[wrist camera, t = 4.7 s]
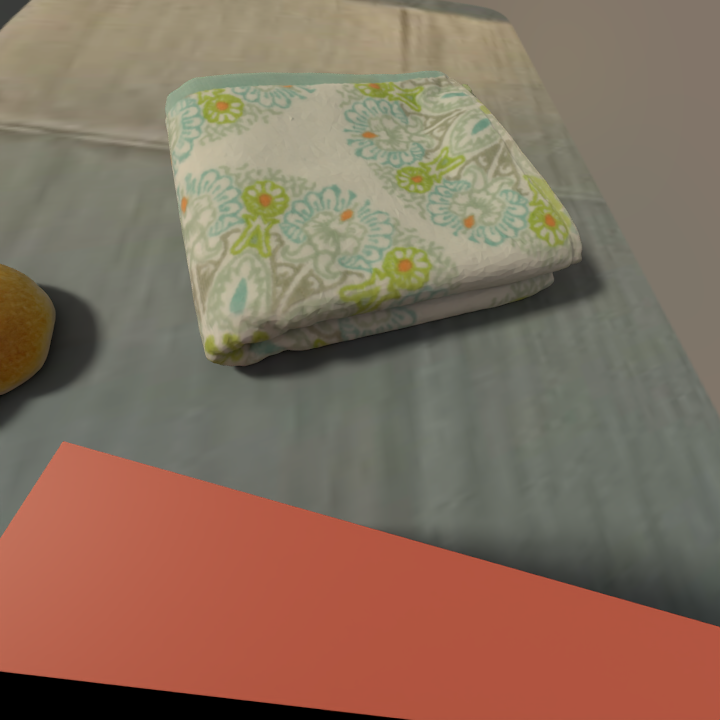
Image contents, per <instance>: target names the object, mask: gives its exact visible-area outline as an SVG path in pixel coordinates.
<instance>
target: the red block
mask: <svg viewBox="0 0 720 720" xmlns="http://www.w3.org/2000/svg"><path fill="white" fill-rule="evenodd" d="M0 720H720V627H718V626H715V625H711V624H708V623H704V622H701V621H697V620H693V619H690V618H686V617H683V616H679V615H676V614H672V613H669V612H665V611H662V610H658V609H655V608H651V607H647V606H644V605H640V604H637V603H633V602H630V601H626V600H623V599H619V598H616V597H612V596H609V595H605V594H601V593H598V592H594V591H591V590H587V589H584V588H580V587H577V586H573V585H570V584H566V583H563V582H559V581H556V580H552V579H548V578H545V577H541V576H538V575H534V574H531V573H527V572H524V571H520V570H517V569H513V568H510V567H506V566H502V565H499V564H495V563H492V562H488V561H485V560H481V559H478V558H474V557H471V556H467V555H464V554H460V553H456V552H453V551H449V550H446V549H442V548H439V547H435V546H432V545H428V544H425V543H421V542H418V541H414V540H410V539H407V538H403V537H400V536H396V535H393V534H389V533H386V532H382V531H379V530H375V529H372V528H368V527H364V526H361V525H357V524H354V523H350V522H347V521H343V520H340V519H336V518H333V517H329V516H326V515H322V514H318V513H315V512H311V511H308V510H304V509H301V508H297V507H294V506H290V505H287V504H283V503H280V502H276V501H273V500H269V499H265V498H262V497H258V496H255V495H251V494H248V493H244V492H241V491H237V490H234V489H230V488H227V487H223V486H219V485H216V484H212V483H209V482H205V481H202V480H198V479H195V478H191V477H188V476H184V475H181V474H177V473H173V472H170V471H166V470H163V469H159V468H156V467H152V466H149V465H145V464H142V463H138V462H135V461H131V460H127V459H124V458H120V457H117V456H113V455H110V454H106V453H103V452H99V451H96V450H92V449H89V448H85V447H81V446H78V445H74V444H71V443H67V442H64V441H63V442H62V444H61V445H60V447H59V448H58V450H57V452H56V453H55V455H54V456H53V458H52V459H51V461H50V462H49V464H48V466H47V467H46V469H45V470H44V472H43V473H42V475H41V476H40V478H39V479H38V481H37V483H36V484H35V486H34V487H33V489H32V490H31V492H30V493H29V495H28V496H27V498H26V500H25V501H24V503H23V504H22V506H21V507H20V509H19V510H18V512H17V513H16V515H15V517H14V518H13V520H12V521H11V523H10V524H9V526H8V527H7V529H6V531H5V532H4V534H3V535H2V537H1V538H0Z"/></svg>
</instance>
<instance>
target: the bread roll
mask: <svg viewBox="0 0 720 720" xmlns="http://www.w3.org/2000/svg"><path fill="white" fill-rule="evenodd" d="M55 316H56V313H55V308H54V306H53V303H52V301H51V299H50V298H49V296H48V295H47V294H46V293H45V292H44V291H43V289H42V288H40V287H39V286H38V285H37V284H36V283H35V282H34V281H33V280H31V279H30V278H29V277H27V276H26V275H25V274H23V273H21V272H19V271H17V270H15V269H13V268H10V267H8V266H5V265H2V264H0V395H2V394H5V393H7V392H9V391H11V390H13V389H14V388H16V387H18V386H19V385H21V384H23V383H24V382H26V381H27V380H28V379H30V378H31V377H32V376H33V375H34V374H35V373H36V372H37V371H39V370H40V369H41V368H42V366H43V364H44V362H45V360H46V358H47V355H48V351H49V348H50V343H51V338H52V334H53V329H54V324H55Z"/></svg>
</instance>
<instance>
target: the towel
mask: <svg viewBox="0 0 720 720" xmlns="http://www.w3.org/2000/svg"><path fill="white" fill-rule="evenodd" d="M165 112H166V116H167V118H166V120H165V122H166V128H167V131H168V139H169V147H170V156H171V164H172V169H173V174H174V181H175V189H176V193H177V200H178V208H179V214H180V221H181V227H182V233H183V238H184V244H185V250H186V256H187V263H188V268H189V273H190V280H191V286H192V292H193V299H194V305H195V309H196V313H197V318H198V324H199V331H200V335H201V338H202V342H203V346H204V350H205V354H206V357H207V359H208V360H210V361H211V362H213V363H216V364H220V365H223V366H225V365H227V366H238V365H240V366H247V365H251V364H254V363H257V362H259V361H261V360H262V359H264V358H265V357H267V356H270V355H274V354H278V353H280V352H282V351H285V350H299V351H302V350H308V349H312V348H318V347H322V346H325V345H329V344H333V343H338V342H342V341H347V340H353V339H357V338H361V337H365V336H369V335H373V334H378V333H383V332H387V331H391V330H397V329H400V328H406V327H409V326H413V325H417V324H422V323H425V322H430V321H434V320H439V319H443V318H447V317H451V316H456V315H460V314H464V313H468V312H473V311H477V310H481V309H488V308H492V307H497V306H500V305H503V304H506V303H510V302H514V301H518V300H521V299H524V298H526V297H530V296H532V295H534V294H536V293H538V292H539V291H540V290H543V289H545V288H547V287H549V286H550V285H551V284H552V283H553V281H554V277H553V273H552V272H554V271H559V270H561V269H564V268H567V267H568V266H570V264H576V263H579V262H580V261H581V260H582V256H581V251H582V248H583V247H582V242H581V239H580V236H579V233H578V230H577V228H576V226H575V224H574V222H573V221H572V219H571V217H570V215H569V213H568V212H567V210H566V209H565V207H564V206H563V204H562V203H561V202H560V200H559V199H558V197H557V196H556V195H555V193H554V192H553V191H552V190H551V188H550V187H549V185H548V183H547V182H546V181H545V180H544V178H543V177H542V176H541V174H540V173H539V172H538V171H537V170H536V168H535V167H534V166H533V165H532V164H531V162H530V161H529V160H528V158H527V157H526V156H525V155H524V154H523V152H522V151H521V150H520V148H519V147H518V145H517V144H516V142H515V141H514V140H513V138H512V137H511V136H510V135H509V133H508V132H507V131H506V130H505V128H504V127H503V126H502V125H501V124H500V122H499V121H498V120H497V119H496V118H495V117H494V116H493V115H492V114H491V112H490V111H489V110H488V109H487V108H486V107H485V106H484V105H483V104H482V103H481V102H480V101H479V99H478V98H477V97H476V96H475V95H474V94H473V92H472V90H471V89H470V87H469V86H468V85H466V84H462V85H461V84H460V83H458V82H457V81H455V80H454V79H452V78H449V77H448V76H447V75H446V74H445V73H442V72H440V71H421V72H415V73H406V74H395V75H392V74H371V75H352V74H331V73H243V74H227V75H217V76H208V77H197V78H193V79H191V80H189V81H187V82H186V83H184V84H183V85H182V86H180V87H179V88H178V89H177V90H175V91H173V92H171V93H170V94H169V95H168V97H167V101H166V106H165Z"/></svg>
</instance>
